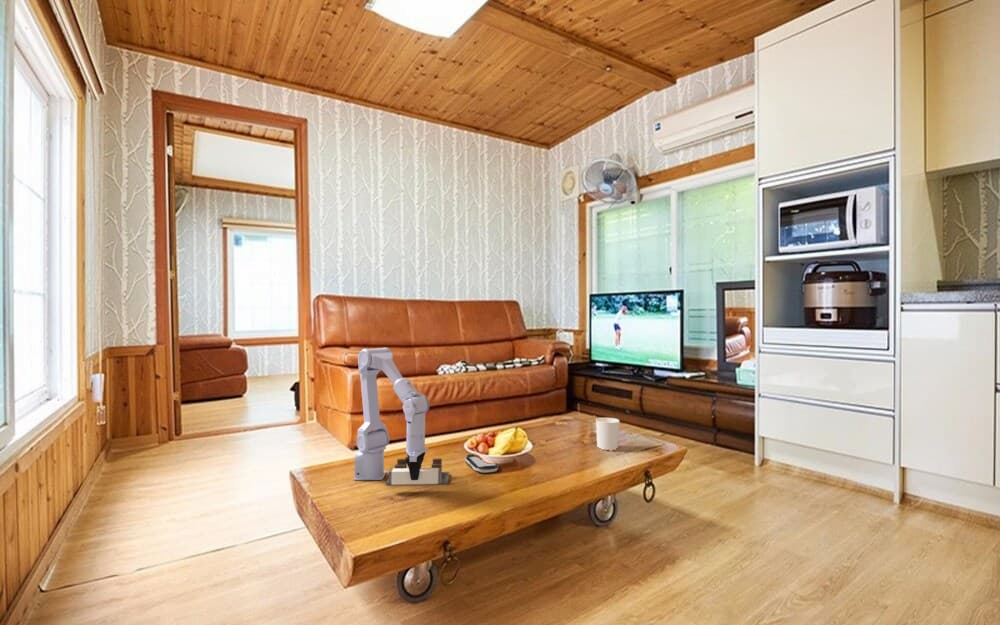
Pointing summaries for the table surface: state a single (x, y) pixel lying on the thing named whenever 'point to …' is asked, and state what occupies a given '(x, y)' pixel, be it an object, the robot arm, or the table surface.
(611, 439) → the white cylinder
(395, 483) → the rail
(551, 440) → the table surface
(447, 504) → the table surface
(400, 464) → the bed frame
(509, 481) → the table surface
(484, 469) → the gaming console
